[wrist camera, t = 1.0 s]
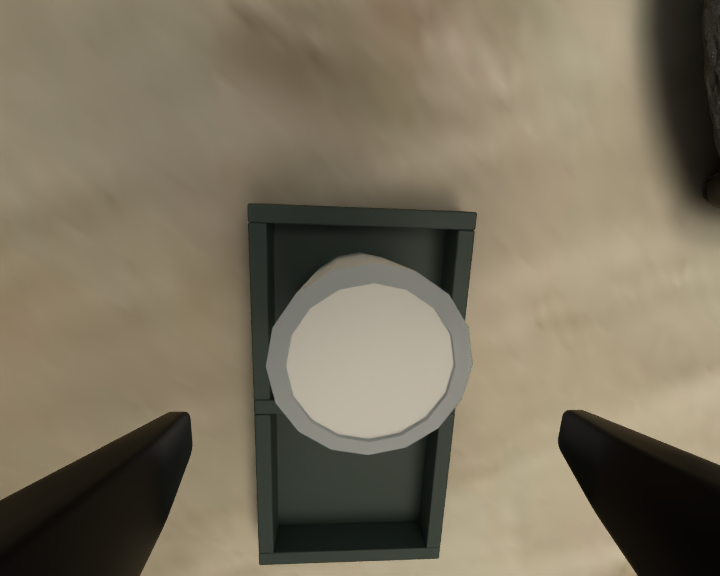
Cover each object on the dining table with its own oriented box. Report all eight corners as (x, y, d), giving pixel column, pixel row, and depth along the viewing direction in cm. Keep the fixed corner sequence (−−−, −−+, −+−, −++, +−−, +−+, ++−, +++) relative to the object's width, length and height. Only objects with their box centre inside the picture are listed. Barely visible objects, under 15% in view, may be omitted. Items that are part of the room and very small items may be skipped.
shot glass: (360, 210, 17) (376, 215, 11) (450, 306, 19) (515, 365, 12) (262, 306, 18) (219, 368, 11) (356, 391, 20) (368, 491, 13)
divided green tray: (429, 526, 22) (439, 559, 20) (266, 531, 22) (259, 565, 20) (461, 211, 18) (477, 212, 16) (257, 203, 17) (247, 203, 15)
